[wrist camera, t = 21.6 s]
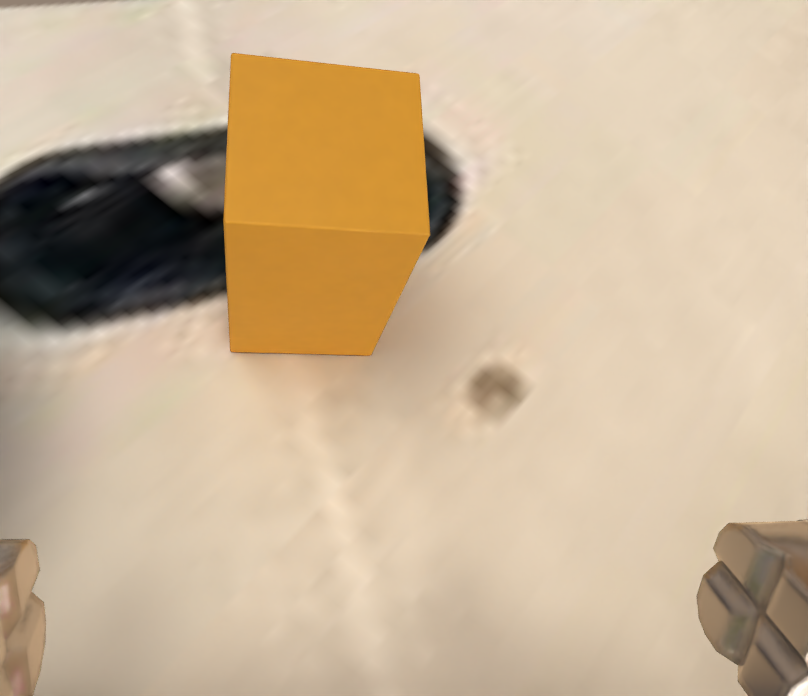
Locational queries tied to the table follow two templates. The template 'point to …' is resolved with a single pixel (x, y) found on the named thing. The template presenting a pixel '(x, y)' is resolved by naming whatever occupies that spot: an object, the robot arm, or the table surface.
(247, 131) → the block
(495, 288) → the table surface
